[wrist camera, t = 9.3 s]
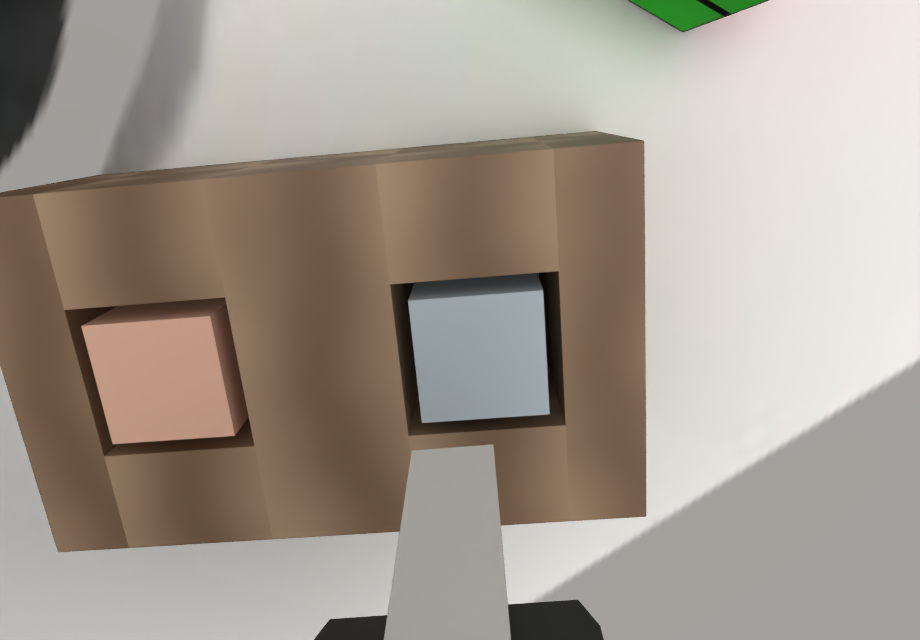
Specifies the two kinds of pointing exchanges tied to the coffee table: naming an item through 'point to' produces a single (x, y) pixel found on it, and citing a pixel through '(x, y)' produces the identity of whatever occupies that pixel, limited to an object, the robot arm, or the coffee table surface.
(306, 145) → the coffee table surface
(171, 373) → the terracotta peg
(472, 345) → the slate peg
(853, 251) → the coffee table surface
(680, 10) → the puzzle cube
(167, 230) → the walnut block
